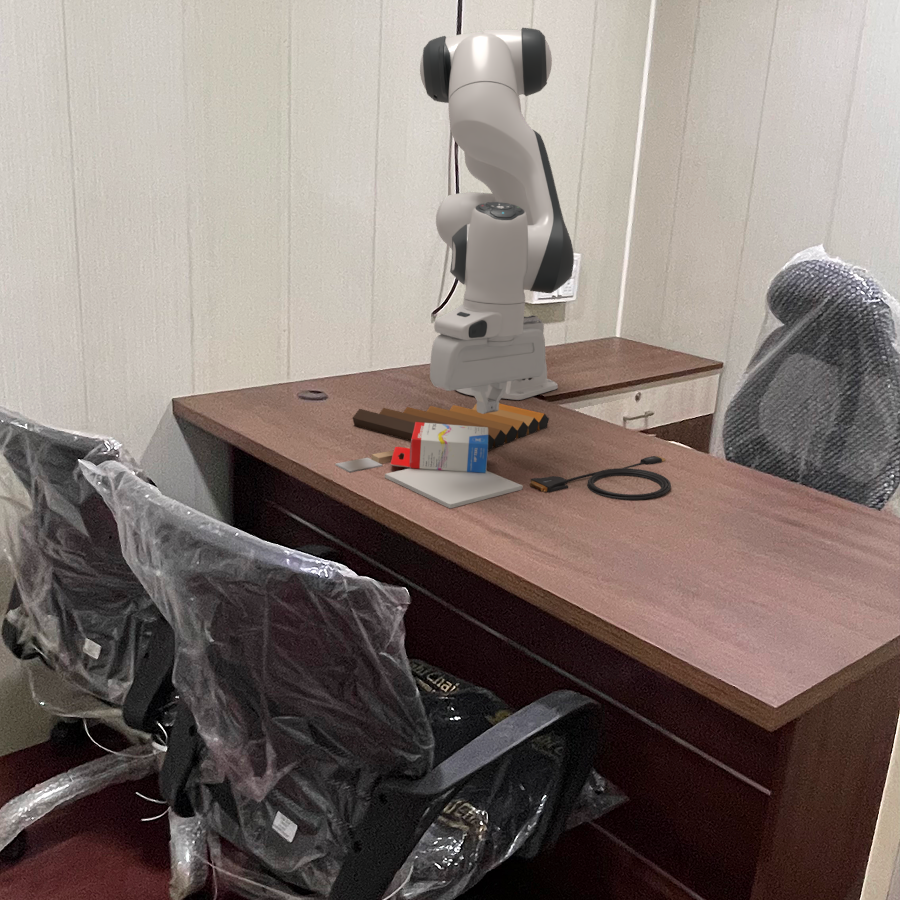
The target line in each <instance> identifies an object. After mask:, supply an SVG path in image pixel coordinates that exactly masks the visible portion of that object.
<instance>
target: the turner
mask: <svg viewBox="0 0 900 900" xmlns="http://www.w3.org/2000/svg"><path fill="white" fill-rule="evenodd" d="M407 448H410V446H407ZM393 452H394V450H388V451H383V452H378V453H373V454H371V458H370V457H364V458H363V457H362V458H359V459H353V460H347V461H343V462H342V461H341V462H337V463H335V464H334V465H335V466H336V467H337V466H338V468H340V469H342V470H344V471H345V472H347V473H356V472H361V471H366V470H371V469H376V468H380V467H383V464H386V463H387V464H388V463H391V460H392V456H393ZM398 457H399V459H402V460H403V458H404V454H400V455H399V456H398Z"/></svg>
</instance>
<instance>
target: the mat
mask: <svg viewBox="0 0 900 900" xmlns="http://www.w3.org/2000/svg"><path fill="white" fill-rule="evenodd" d="M384 478H385V479H387V480H389V481H391V482H393V483H395V484H398V485H400V486H402V487H404V488H406V489H407V490H410V491H412V492H414V493H416V494H418V495H421V496H423V497H425V498H427V499H429V500H431V501H433V502H435V503H436V504H437V503H438V504H440V505H442V506H443V507H446V508H448V509H453V508H457V507H461V506H464V505H465V506H466V505H468V504H469V505H470V504H472V503H476V502H480V501H484V500H487V499H492V498H495V497H498V496H502V495H505V494H506V495H507V494H511V493H514V492H517V491H522V490H523V484H519V483H518V482H515V481H513V480H510V479H508V478H506V477H503V476H500V475H497V474H496V473H494V472H491V471H488V470H486V473H477V472H462V471H448V470H432V469H417V468H409V467H408V468H404V469H402V470H396V471H392V472H386V473H384Z"/></svg>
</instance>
